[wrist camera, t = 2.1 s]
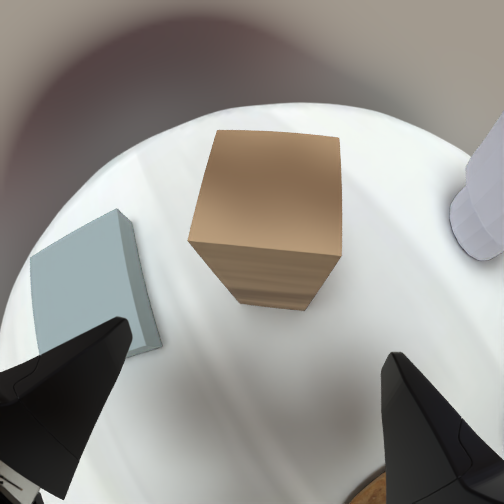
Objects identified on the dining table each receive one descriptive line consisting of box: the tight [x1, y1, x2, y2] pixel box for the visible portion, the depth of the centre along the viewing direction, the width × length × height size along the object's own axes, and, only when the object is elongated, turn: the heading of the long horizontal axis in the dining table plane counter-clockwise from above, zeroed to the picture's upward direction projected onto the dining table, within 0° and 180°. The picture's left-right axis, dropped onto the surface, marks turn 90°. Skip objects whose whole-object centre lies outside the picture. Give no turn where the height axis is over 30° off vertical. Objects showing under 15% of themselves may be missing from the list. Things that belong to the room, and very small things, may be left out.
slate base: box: [30, 208, 162, 358], centre depth 21 cm, size 12×12×3 cm
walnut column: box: [188, 130, 342, 311], centre depth 16 cm, size 5×5×13 cm
